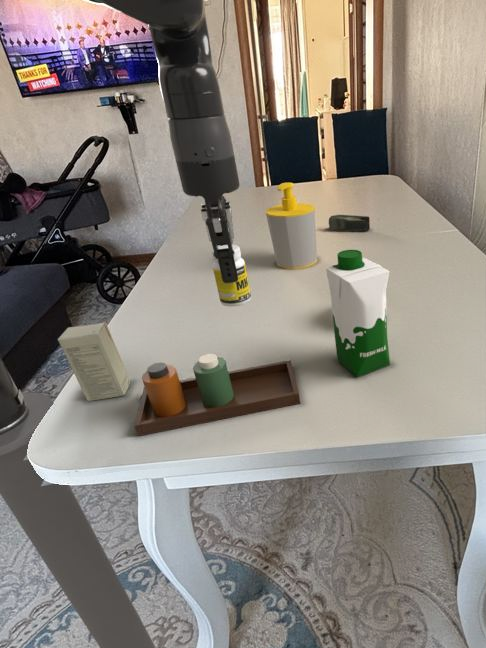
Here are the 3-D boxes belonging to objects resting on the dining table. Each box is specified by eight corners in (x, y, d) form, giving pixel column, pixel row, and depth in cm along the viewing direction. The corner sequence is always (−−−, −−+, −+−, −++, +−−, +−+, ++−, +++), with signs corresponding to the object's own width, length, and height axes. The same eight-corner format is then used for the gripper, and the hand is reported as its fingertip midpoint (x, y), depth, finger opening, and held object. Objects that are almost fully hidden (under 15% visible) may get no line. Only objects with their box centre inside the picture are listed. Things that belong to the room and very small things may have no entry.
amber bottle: (152, 420, 73) (137, 379, 69) (155, 401, 77) (141, 361, 73) (185, 413, 74) (172, 372, 70) (187, 395, 78) (175, 356, 74)
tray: (138, 436, 70) (134, 426, 69) (147, 396, 79) (143, 386, 78) (300, 403, 75) (299, 393, 74) (292, 369, 84) (290, 359, 83)
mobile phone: (369, 214, 153) (325, 213, 156) (368, 217, 151) (323, 216, 153) (370, 229, 156) (326, 228, 158) (368, 232, 153) (324, 231, 156)
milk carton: (370, 345, 90) (364, 244, 80) (397, 365, 83) (395, 258, 73) (330, 359, 86) (319, 255, 76) (355, 382, 80) (346, 271, 69)
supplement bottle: (244, 308, 70) (233, 254, 66) (215, 306, 71) (202, 253, 67) (256, 295, 75) (247, 243, 70) (229, 293, 75) (218, 243, 71)
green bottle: (202, 410, 74) (190, 369, 70) (202, 392, 78) (191, 353, 75) (234, 403, 75) (224, 363, 71) (233, 386, 80) (223, 347, 76)
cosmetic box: (131, 382, 83) (108, 321, 77) (125, 396, 79) (100, 333, 73) (93, 387, 82) (66, 326, 76) (84, 402, 79) (56, 338, 72)
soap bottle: (264, 266, 130) (250, 188, 119) (290, 251, 140) (280, 177, 129) (304, 272, 125) (294, 190, 114) (328, 256, 135) (321, 179, 124)
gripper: (178, 150, 67) (205, 263, 76) (170, 165, 55) (203, 297, 64) (232, 145, 69) (252, 256, 77) (235, 159, 57) (259, 289, 66)
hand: (230, 274), depth 71 cm, fingers closed on supplement bottle, 4 cm apart
